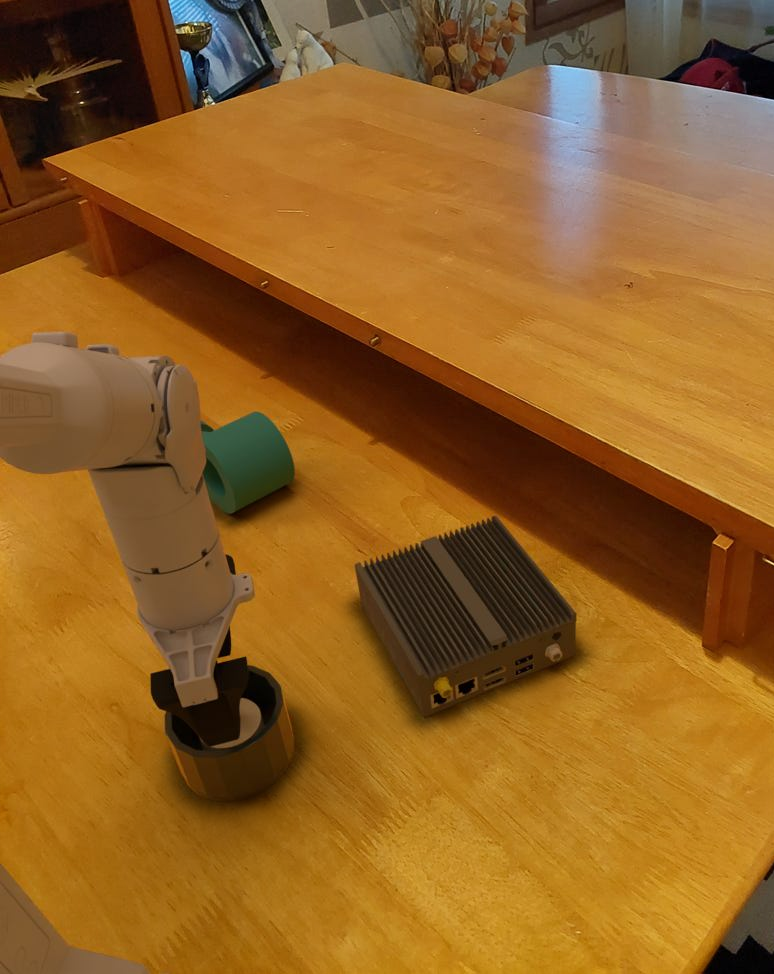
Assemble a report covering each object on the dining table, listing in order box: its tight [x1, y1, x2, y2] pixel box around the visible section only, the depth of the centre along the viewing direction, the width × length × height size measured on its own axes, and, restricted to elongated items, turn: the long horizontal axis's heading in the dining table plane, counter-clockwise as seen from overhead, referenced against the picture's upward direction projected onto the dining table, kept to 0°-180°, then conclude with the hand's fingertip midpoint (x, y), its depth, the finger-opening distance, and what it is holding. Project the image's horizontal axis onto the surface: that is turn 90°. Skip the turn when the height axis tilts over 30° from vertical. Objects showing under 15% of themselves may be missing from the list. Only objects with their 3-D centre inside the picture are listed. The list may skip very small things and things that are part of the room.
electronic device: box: [354, 515, 577, 718], centre depth 74 cm, size 13×15×5 cm
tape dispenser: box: [201, 411, 296, 515], centre depth 92 cm, size 7×15×8 cm, turn 43°
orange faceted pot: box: [164, 664, 296, 803], centre depth 65 cm, size 8×8×5 cm
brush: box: [199, 698, 265, 751], centre depth 64 cm, size 4×4×8 cm
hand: (219, 695), depth 63 cm, fingers open, 7 cm apart
